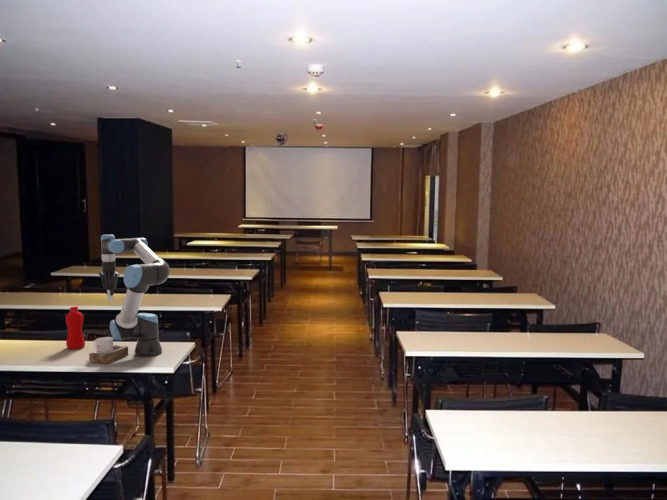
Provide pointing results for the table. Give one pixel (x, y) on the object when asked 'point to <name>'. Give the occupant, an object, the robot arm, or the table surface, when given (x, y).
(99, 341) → the mug
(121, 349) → the dock
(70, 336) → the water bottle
